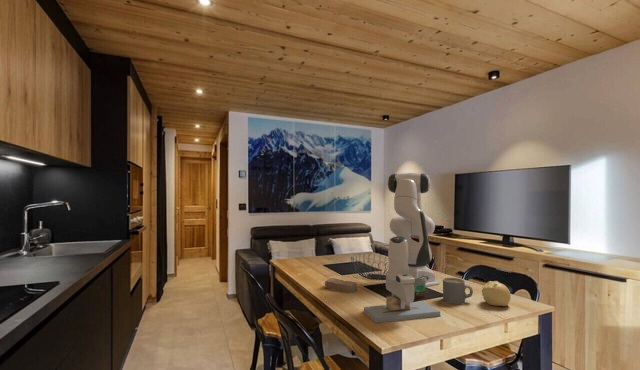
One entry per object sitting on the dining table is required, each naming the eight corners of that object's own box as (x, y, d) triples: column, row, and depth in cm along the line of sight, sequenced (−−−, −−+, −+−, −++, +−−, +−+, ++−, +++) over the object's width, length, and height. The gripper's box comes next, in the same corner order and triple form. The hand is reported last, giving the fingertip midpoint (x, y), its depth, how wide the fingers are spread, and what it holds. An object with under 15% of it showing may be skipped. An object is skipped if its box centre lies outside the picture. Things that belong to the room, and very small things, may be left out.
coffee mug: (441, 301, 154) (440, 281, 155) (445, 296, 163) (445, 276, 163) (471, 306, 147) (470, 285, 147) (474, 300, 155) (473, 280, 156)
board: (423, 305, 149) (423, 301, 149) (440, 316, 136) (440, 311, 136) (363, 311, 142) (363, 306, 142) (375, 322, 129) (375, 317, 129)
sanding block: (404, 306, 142) (404, 295, 142) (409, 309, 138) (409, 298, 138) (386, 308, 140) (386, 296, 140) (390, 311, 136) (390, 300, 136)
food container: (414, 300, 155) (414, 280, 156) (405, 297, 161) (405, 277, 161) (432, 297, 161) (432, 277, 161) (423, 293, 167) (423, 274, 167)
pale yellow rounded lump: (483, 298, 159) (483, 276, 159) (511, 303, 152) (511, 280, 152) (480, 305, 149) (479, 282, 150) (509, 310, 142) (509, 286, 143)
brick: (357, 289, 175) (357, 281, 175) (351, 293, 168) (350, 284, 168) (331, 285, 184) (331, 277, 184) (324, 289, 177) (324, 280, 177)
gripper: (382, 269, 149) (382, 298, 149) (403, 281, 129) (403, 315, 129) (394, 268, 150) (394, 297, 150) (417, 280, 130) (417, 313, 130)
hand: (398, 305), depth 139 cm, fingers closed on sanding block, 4 cm apart
